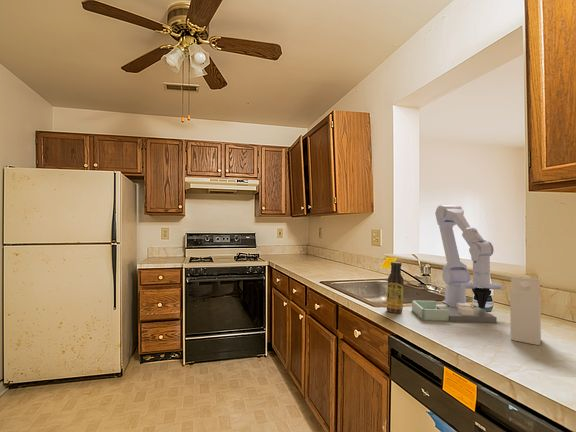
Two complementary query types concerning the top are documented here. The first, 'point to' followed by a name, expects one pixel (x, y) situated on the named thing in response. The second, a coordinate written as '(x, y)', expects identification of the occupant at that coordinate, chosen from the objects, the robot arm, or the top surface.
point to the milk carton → (525, 310)
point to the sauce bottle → (395, 289)
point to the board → (477, 317)
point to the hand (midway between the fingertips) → (481, 307)
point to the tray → (429, 311)
